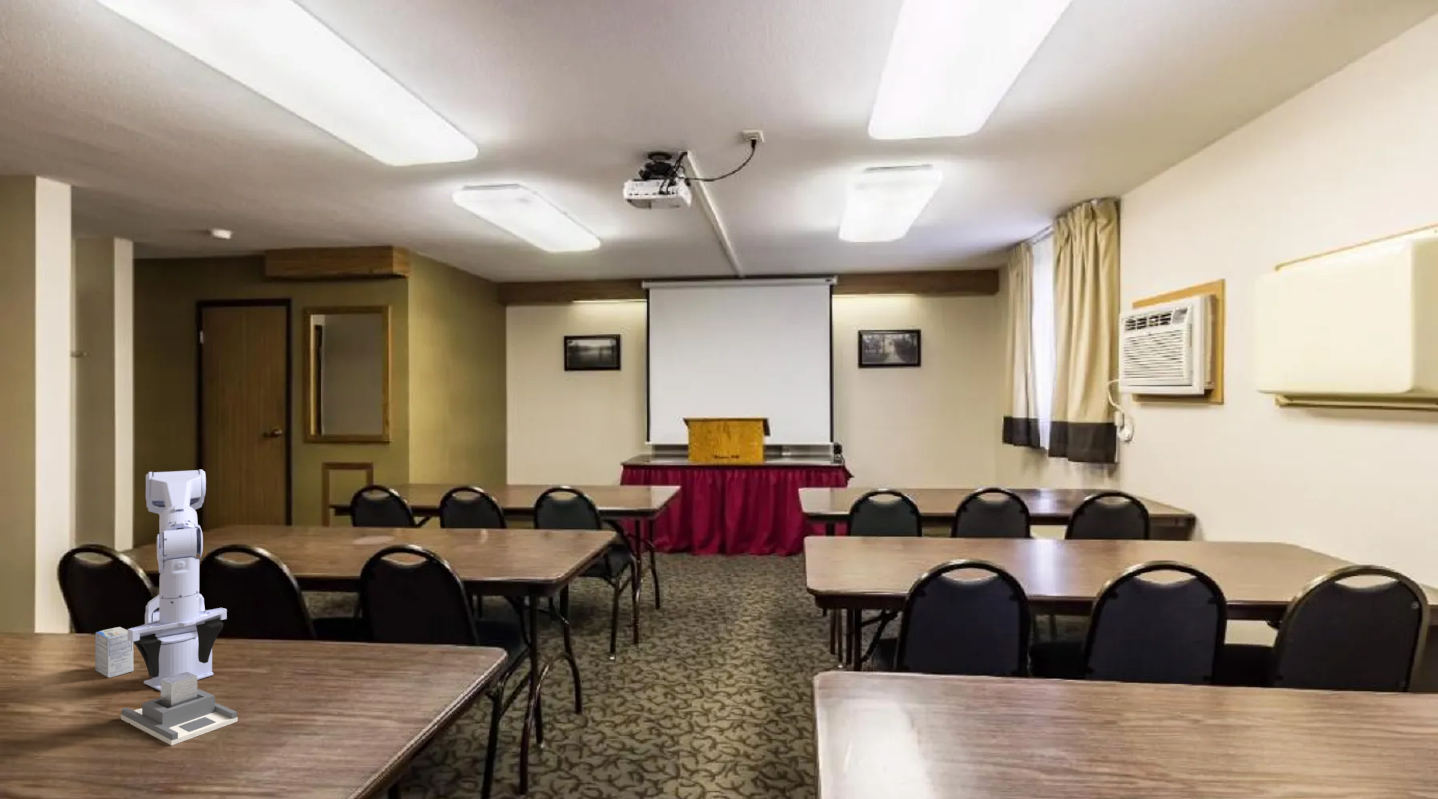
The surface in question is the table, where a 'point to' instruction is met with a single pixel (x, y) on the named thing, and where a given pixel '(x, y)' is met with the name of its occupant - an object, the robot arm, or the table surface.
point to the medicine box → (113, 652)
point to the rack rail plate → (180, 718)
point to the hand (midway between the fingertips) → (179, 668)
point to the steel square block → (178, 689)
